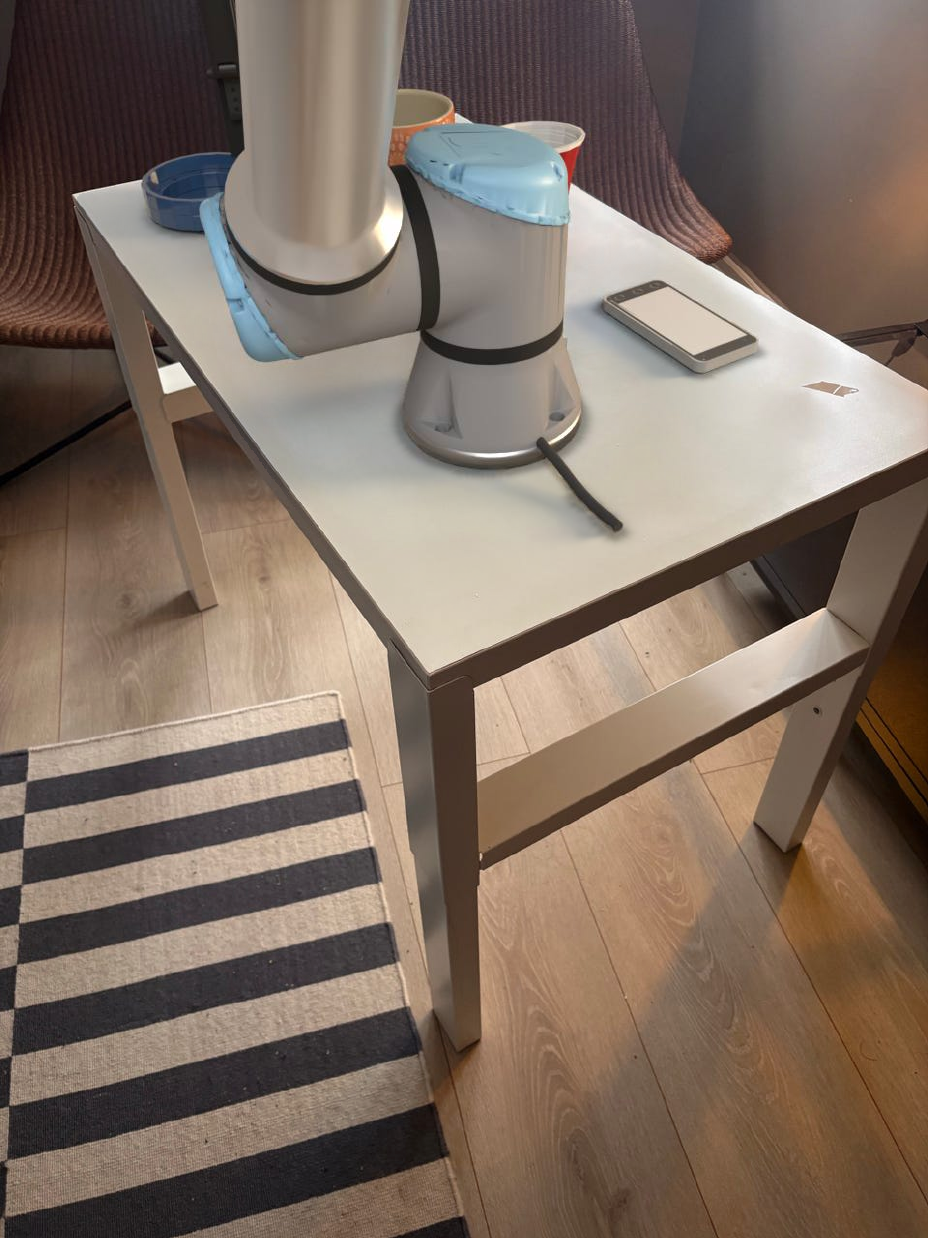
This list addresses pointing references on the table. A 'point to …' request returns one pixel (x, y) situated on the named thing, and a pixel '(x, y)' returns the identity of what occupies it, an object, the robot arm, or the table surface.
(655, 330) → the smartphone
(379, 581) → the table surface
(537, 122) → the plastic cup
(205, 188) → the dish
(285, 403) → the table surface
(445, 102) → the planter
